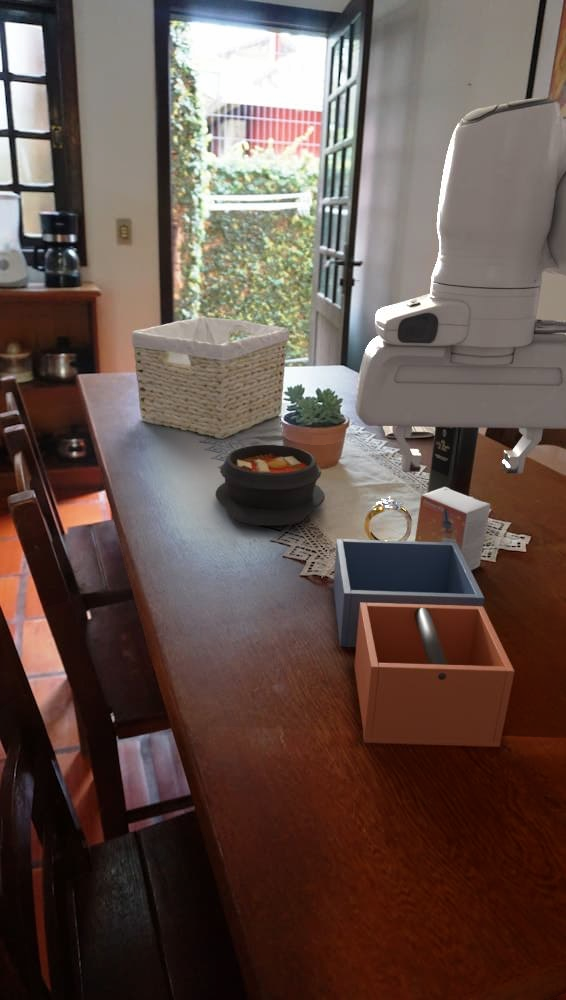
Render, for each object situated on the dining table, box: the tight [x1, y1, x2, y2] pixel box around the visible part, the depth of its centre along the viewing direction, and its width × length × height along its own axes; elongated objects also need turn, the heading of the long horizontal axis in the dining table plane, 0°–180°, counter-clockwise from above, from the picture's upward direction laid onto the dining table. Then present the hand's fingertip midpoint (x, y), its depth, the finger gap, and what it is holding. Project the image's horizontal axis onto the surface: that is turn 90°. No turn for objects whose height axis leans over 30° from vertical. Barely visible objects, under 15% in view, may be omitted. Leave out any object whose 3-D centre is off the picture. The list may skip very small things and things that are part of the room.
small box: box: [414, 487, 491, 571], centre depth 97 cm, size 8×6×10 cm
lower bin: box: [332, 538, 485, 648], centre depth 83 cm, size 16×14×8 cm
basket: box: [131, 315, 290, 440], centre depth 158 cm, size 27×27×22 cm
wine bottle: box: [426, 427, 480, 497], centre depth 114 cm, size 6×6×30 cm
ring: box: [363, 496, 413, 541], centre depth 102 cm, size 7×3×8 cm, turn 73°
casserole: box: [215, 444, 326, 527], centre depth 115 cm, size 25×19×8 cm
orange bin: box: [354, 603, 515, 748], centre depth 69 cm, size 13×11×9 cm
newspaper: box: [381, 426, 435, 439], centre depth 163 cm, size 23×12×2 cm, turn 179°
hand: (461, 471), depth 63 cm, fingers open, 8 cm apart
